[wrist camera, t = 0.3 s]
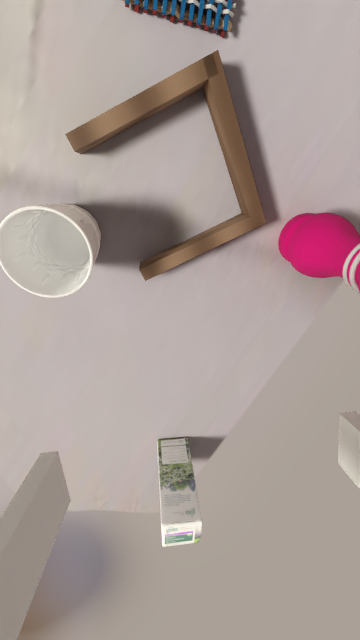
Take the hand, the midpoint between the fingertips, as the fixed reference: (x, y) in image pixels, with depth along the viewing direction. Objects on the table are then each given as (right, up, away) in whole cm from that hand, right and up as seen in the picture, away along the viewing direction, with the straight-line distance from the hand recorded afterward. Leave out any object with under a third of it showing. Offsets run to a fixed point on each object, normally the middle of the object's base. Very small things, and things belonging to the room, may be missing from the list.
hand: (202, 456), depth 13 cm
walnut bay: (-2, +22, +18) cm, 29 cm away
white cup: (-14, +17, +20) cm, 29 cm away
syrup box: (-3, -17, +39) cm, 43 cm away
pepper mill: (+15, +17, +23) cm, 33 cm away
